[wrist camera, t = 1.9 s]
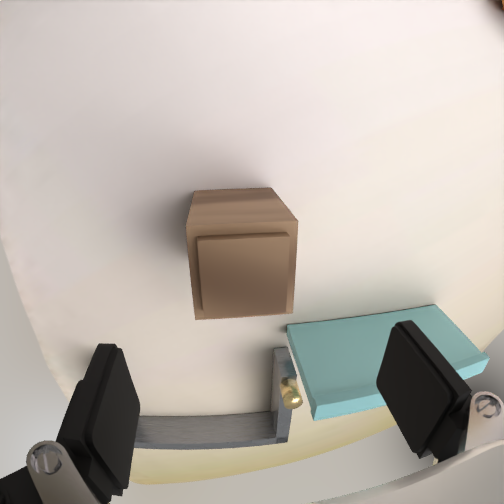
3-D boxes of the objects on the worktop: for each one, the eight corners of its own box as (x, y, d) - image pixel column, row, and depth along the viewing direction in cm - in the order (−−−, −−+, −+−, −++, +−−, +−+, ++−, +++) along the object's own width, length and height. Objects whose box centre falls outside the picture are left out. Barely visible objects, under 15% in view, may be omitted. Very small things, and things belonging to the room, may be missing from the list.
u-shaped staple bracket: (99, 353, 24) (83, 399, 19) (288, 346, 26) (304, 394, 21) (128, 421, 29) (121, 462, 24) (282, 416, 30) (292, 457, 25)
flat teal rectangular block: (287, 321, 25) (317, 405, 17) (436, 301, 26) (489, 357, 18) (286, 337, 26) (313, 420, 18) (432, 315, 27) (482, 372, 19)
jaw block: (194, 190, 20) (184, 230, 13) (271, 187, 21) (301, 225, 14) (199, 260, 22) (194, 326, 15) (270, 257, 23) (295, 320, 16)
